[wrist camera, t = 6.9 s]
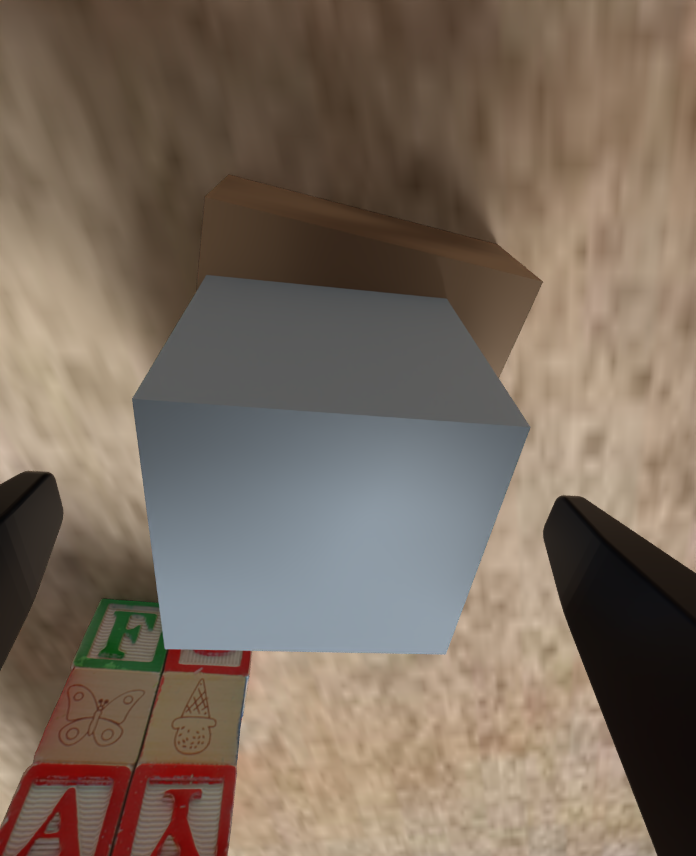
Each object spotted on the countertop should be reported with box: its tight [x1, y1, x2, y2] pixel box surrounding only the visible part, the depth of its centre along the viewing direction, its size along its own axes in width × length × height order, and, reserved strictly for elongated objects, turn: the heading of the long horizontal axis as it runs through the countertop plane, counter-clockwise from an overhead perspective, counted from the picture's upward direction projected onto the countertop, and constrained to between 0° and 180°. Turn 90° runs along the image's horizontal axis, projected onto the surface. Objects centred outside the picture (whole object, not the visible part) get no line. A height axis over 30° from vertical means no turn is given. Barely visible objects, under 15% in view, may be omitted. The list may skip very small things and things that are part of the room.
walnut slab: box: [196, 175, 543, 378], centre depth 13 cm, size 7×7×4 cm
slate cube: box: [132, 275, 530, 654], centre depth 10 cm, size 5×5×5 cm
